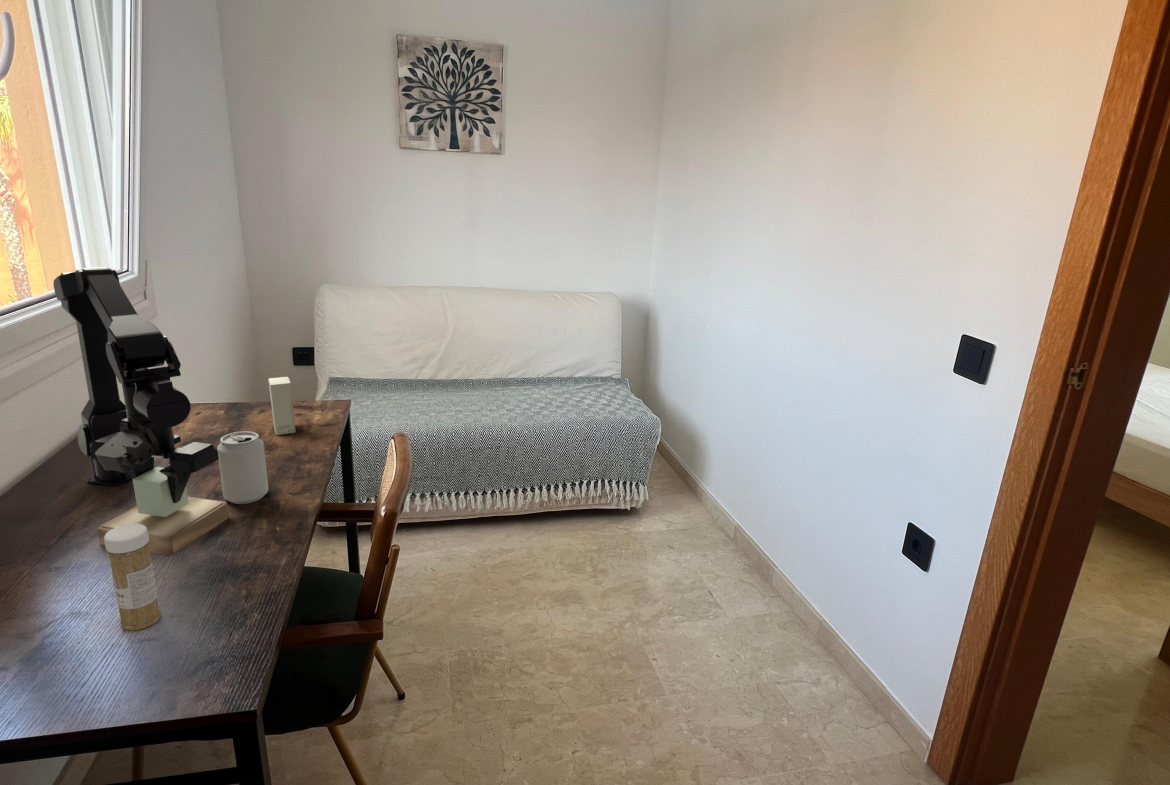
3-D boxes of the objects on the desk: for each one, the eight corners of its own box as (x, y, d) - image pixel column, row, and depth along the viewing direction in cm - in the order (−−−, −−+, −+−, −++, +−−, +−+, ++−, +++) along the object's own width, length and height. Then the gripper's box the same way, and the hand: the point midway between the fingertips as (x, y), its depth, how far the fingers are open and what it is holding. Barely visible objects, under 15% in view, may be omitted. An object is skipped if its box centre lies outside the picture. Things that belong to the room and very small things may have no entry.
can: (251, 508, 118) (243, 446, 114) (214, 503, 119) (205, 441, 116) (277, 490, 125) (271, 431, 121) (242, 485, 126) (235, 427, 123)
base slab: (98, 544, 105) (95, 527, 104) (164, 506, 117) (161, 491, 116) (171, 555, 102) (168, 538, 101) (230, 516, 115) (228, 501, 114)
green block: (138, 513, 107) (132, 479, 105) (162, 499, 111) (157, 466, 109) (165, 517, 106) (159, 483, 104) (188, 503, 110) (184, 470, 109)
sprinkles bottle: (115, 621, 87) (98, 530, 83) (154, 606, 90) (139, 518, 86) (127, 637, 84) (110, 544, 80) (167, 620, 88) (152, 531, 84)
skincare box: (296, 433, 153) (291, 383, 149) (275, 435, 151) (270, 385, 147) (293, 424, 158) (288, 375, 155) (272, 426, 156) (267, 377, 153)
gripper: (49, 420, 97) (68, 514, 102) (159, 434, 94) (174, 531, 99) (114, 398, 108) (129, 484, 113) (215, 410, 105) (226, 499, 109)
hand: (162, 499), depth 108 cm, fingers closed on green block, 5 cm apart
